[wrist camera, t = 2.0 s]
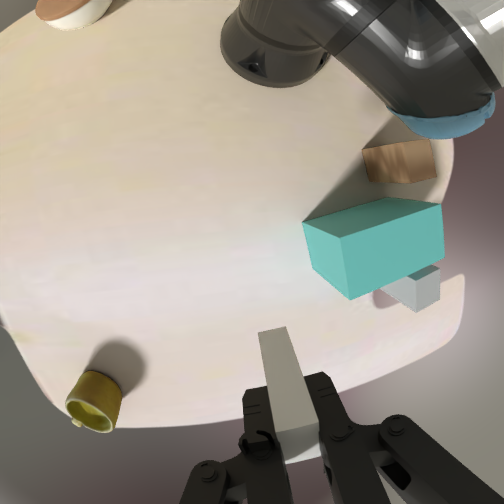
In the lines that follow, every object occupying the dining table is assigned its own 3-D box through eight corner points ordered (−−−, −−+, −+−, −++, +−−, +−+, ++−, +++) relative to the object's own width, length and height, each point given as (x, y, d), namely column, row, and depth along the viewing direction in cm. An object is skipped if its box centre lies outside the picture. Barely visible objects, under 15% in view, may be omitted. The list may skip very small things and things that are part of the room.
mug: (93, 358, 36) (80, 411, 27) (136, 386, 41) (130, 436, 33) (59, 369, 38) (47, 413, 30) (97, 394, 43) (90, 436, 35)
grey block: (377, 261, 40) (415, 280, 31) (400, 251, 41) (440, 268, 31) (380, 288, 42) (416, 312, 32) (402, 278, 42) (439, 299, 32)
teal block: (301, 222, 37) (339, 238, 26) (387, 197, 38) (440, 204, 27) (312, 268, 39) (349, 300, 27) (394, 239, 40) (444, 257, 28)
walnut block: (361, 149, 36) (402, 142, 26) (386, 145, 36) (429, 138, 26) (369, 182, 37) (411, 183, 27) (393, 176, 37) (436, 176, 28)
